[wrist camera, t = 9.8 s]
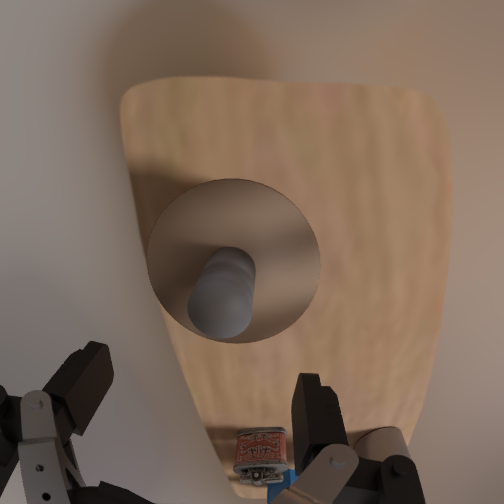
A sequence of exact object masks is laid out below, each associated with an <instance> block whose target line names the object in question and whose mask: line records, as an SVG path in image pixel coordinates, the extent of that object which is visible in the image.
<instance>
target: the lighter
mask: <svg viewBox="0 0 504 504" xmlns="http://www.w3.org/2000/svg"><path fill="white" fill-rule="evenodd" d="M286 436H287V433H286V429H285V428H283V427H263V428H253V429H247V430H242V431H239V432H238V433H237V440H238V441H237V450H236V460H235V465H234V468H233V471H234V472H235V473H236V474H240V475H241V478H240V482H241V483H242V484H250V483H253V484H254V485H256V486H260V485H262V484H263V483H277V482H282V481H283V473H280V472H284V471H286V470H287V469H288V463H287V460H286Z"/></svg>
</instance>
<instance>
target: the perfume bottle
mask: <svg viewBox="0 0 504 504" xmlns="http://www.w3.org/2000/svg"><path fill="white" fill-rule="evenodd" d="M282 473H283V481H282V482H277V483H268V490H267V503H268V504H269V503H270V502H271V501H272V500H273V499H274V498H275V497H276V496H277V495H278V494H279V493H280V492H281V491H282V490H284V489H285V488H288V487H290V486H291V485H292V484H293V483H294V481H295V480H296V479H297V478H298V477H299V476H295V470H292V469H288V470H286V471H284V472H282Z"/></svg>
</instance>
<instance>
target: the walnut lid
mask: <svg viewBox="0 0 504 504" xmlns="http://www.w3.org/2000/svg"><path fill="white" fill-rule="evenodd" d="M147 268H148V274H149V278H150V282H151V285H152V287H153V290H154V292H155V294H156V296H157V298H158V300H159V301H160V303H161V304H162V306H163V307H164V308H165V310H166V311H167V312H168V313H169V314H170V315H171V316H172V317H173V318H174V319H175V320H176V321H177V322H178V323H180V324H181V325H182V326H184V327H185V328H187V329H188V330H190V331H192V332H194V333H195V334H197V335H200V336H202V337H205V338H207V339H211V340H214V341H218V342H225V343H250V342H256V341H260V340H263V339H267V338H270V337H272V336H274V335H276V334H278V333H280V332H282V331H283V330H285V329H287V328H288V327H289V326H291V325H292V324H293V323H294V322H296V321H297V320H298V318H299V317H300V316H301V315H302V314H303V313H304V312H305V310H306V309H307V308H308V306H309V305H310V303H311V301H312V299H313V297H314V295H315V292H316V290H317V287H318V283H319V278H320V269H321V262H320V252H319V247H318V243H317V240H316V237H315V235H314V232H313V230H312V228H311V226H310V225H309V223H308V221H307V219H306V218H305V216H304V215H303V214H302V212H301V211H300V210H299V209H298V208H297V207H296V205H295V204H294V203H293V202H292V201H290V200H289V199H288V198H287V197H285V196H284V195H283V194H281V193H280V192H278V191H276V190H274V189H273V188H271V187H268V186H266V185H264V184H261V183H258V182H254V181H250V180H244V179H219V180H213V181H209V182H206V183H203V184H200V185H198V186H196V187H194V188H191V189H189V190H188V191H186V192H184V193H183V194H181V195H180V196H178V197H177V198H176V199H175V200H173V201H172V202H171V203H170V204H169V205H168V206H167V207H166V208H165V210H164V211H163V212H162V213H161V215H160V216H159V218H158V219H157V221H156V223H155V225H154V227H153V229H152V232H151V235H150V238H149V242H148V249H147Z"/></svg>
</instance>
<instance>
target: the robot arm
mask: <svg viewBox="0 0 504 504" xmlns="http://www.w3.org/2000/svg"><path fill="white" fill-rule="evenodd" d="M113 377H114V371H113V366H112V361H111V357H110V352H109V347H108V345H106V344H103V343H98V342H95V341H90V342H89V343H88V344H87V345H86V346H85V348H84V349H83V350H81V349H79V350H77V351H76V352H74V353H72V354H71V355H70V356H69V357H68V358H67V359H66V361H65V362H64V364H62V365H61V367H60V368H59V370H57V372H56V373H55V374H54V375H53V377H52V378H51V379H50V381H49V382H48V383H47V384H46V385H45V387H44V388H43V389H42V390H34V391H31V392H28V393H27V394H25V395H24V396H23V397H17V396H10V395H8V394H7V392H6V390H5V388H4V387H3V386H1V385H0V497H1V495H2V493H3V491H4V488H5V487H6V484H7V482H8V480H9V478H10V476H11V474H12V472H13V471H14V469H15V467H16V465H17V463H18V461H20V468H21V474H22V480H23V486H24V491H25V496H26V500H27V504H155V503H152V502H150V501H148V500H146V499H144V498H142V497H140V496H138V495H136V494H135V493H133V492H131V491H129V490H127V489H124V488H121V487H118V486H114V485H112V484H109V483H106V482H103V481H100V484H99V486H98V487H96V486H95V487H94V486H88V487H87V486H86V484H85V482H84V480H83V478H82V476H81V473H80V470H79V467H78V463H77V460H76V457H75V453H74V450H73V445H72V442H71V439H70V437H71V435H72V433H75V434H77V435H80V436H82V435H83V434H84V432H85V430H86V428H87V426H88V424H89V422H90V421H91V419H92V417H93V416H94V414H95V412H96V410H97V408H98V407H99V405H100V403H101V401H102V400H103V398H104V396H105V395H106V393H107V391H108V389H109V388H110V386H111V384H112V382H113ZM291 414H292V429H293V445H294V462H295V476H299V477H298V478H297V479H296V480H295V481H294V483H293V484H292V485H291V486H290V487H288V488H285V489H284V490H282V491H281V492H280V493H279V494H278V495H277V496H276V497H275V498H274V499H273V500H272V501H271V502H270V503H269V504H426V501H425V498H424V495H423V491H422V487H421V483H420V480H419V476H418V473H417V470H416V466H415V464H414V462H413V461H412V459H411V457H410V454H409V451H408V448H407V445H406V443H405V440H404V437H403V435H402V432H401V430H400V429H398V428H395V427H386V428H381V429H378V430H375V431H373V432H370V433H369V434H367V435H365V436H364V437H362V438H361V439H360V440H359V441H358V442H357V443H356V445H355V447H354V450H355V451H354V450H353V449H352V448H350V447H349V444H348V441H347V436H346V432H345V427H344V423H343V419H342V415H341V410H340V407H339V402H338V397H337V395H336V393H335V392H334V391H333V390H332V388H331V387H330V386H321V383H320V378H319V374H314V373H300V374H299V376H298V380H297V384H296V388H295V391H294V395H293V399H292V407H291Z"/></svg>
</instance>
